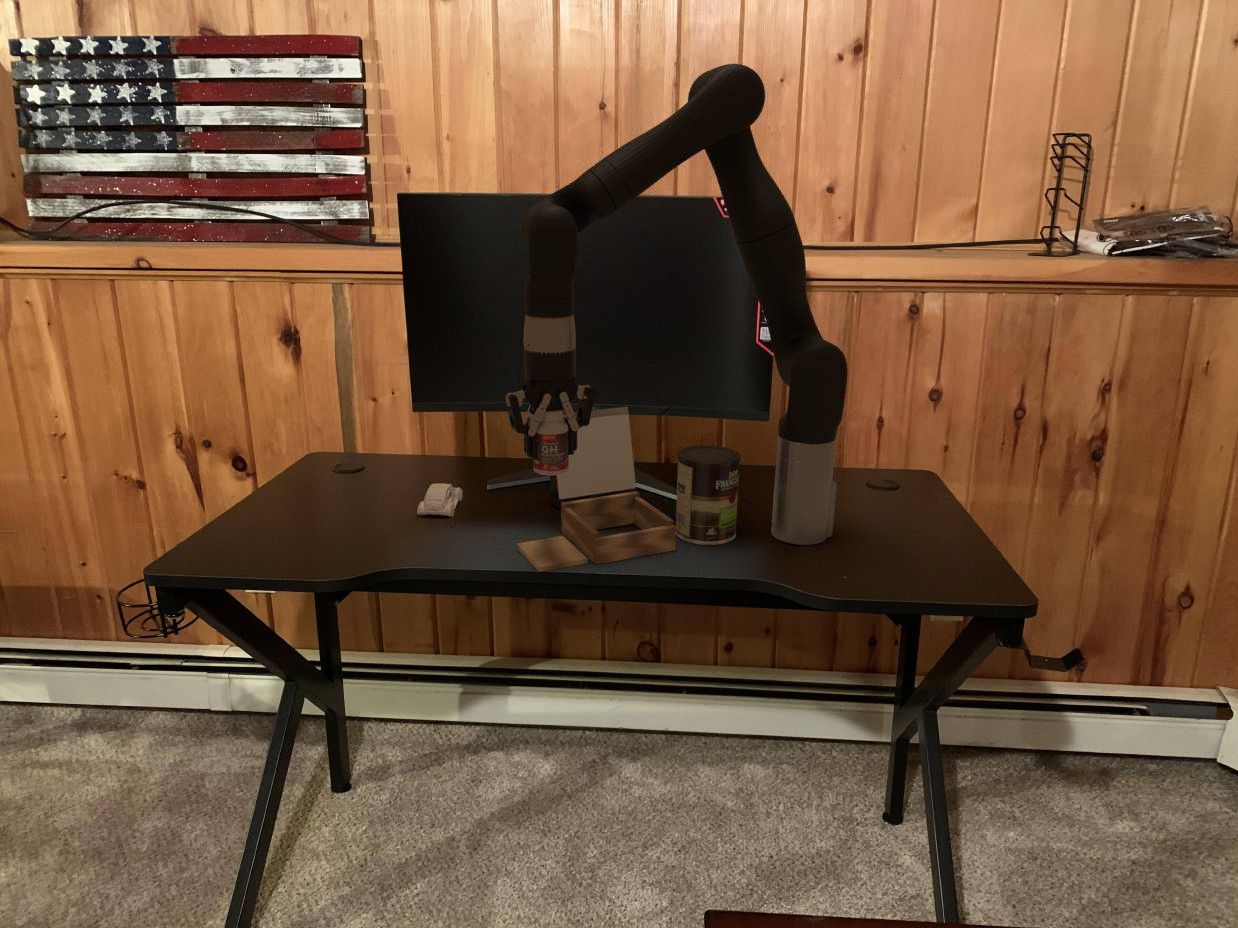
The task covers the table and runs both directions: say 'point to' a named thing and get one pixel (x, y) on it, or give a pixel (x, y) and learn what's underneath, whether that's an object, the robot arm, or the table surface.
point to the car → (440, 500)
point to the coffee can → (707, 494)
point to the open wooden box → (616, 511)
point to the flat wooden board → (551, 553)
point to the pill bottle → (552, 444)
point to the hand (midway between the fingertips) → (551, 455)
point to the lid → (600, 456)
